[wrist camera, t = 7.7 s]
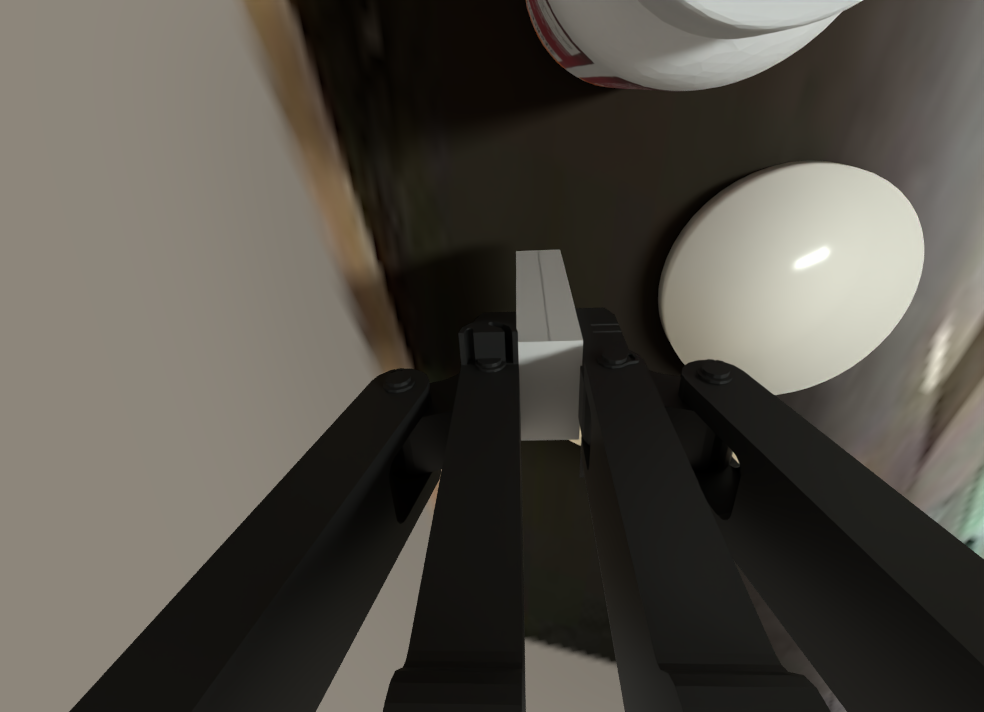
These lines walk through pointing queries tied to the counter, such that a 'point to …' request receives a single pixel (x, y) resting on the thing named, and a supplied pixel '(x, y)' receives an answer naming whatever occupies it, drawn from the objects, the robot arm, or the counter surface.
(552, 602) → the counter surface
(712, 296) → the seat pad
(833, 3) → the pill bottle
